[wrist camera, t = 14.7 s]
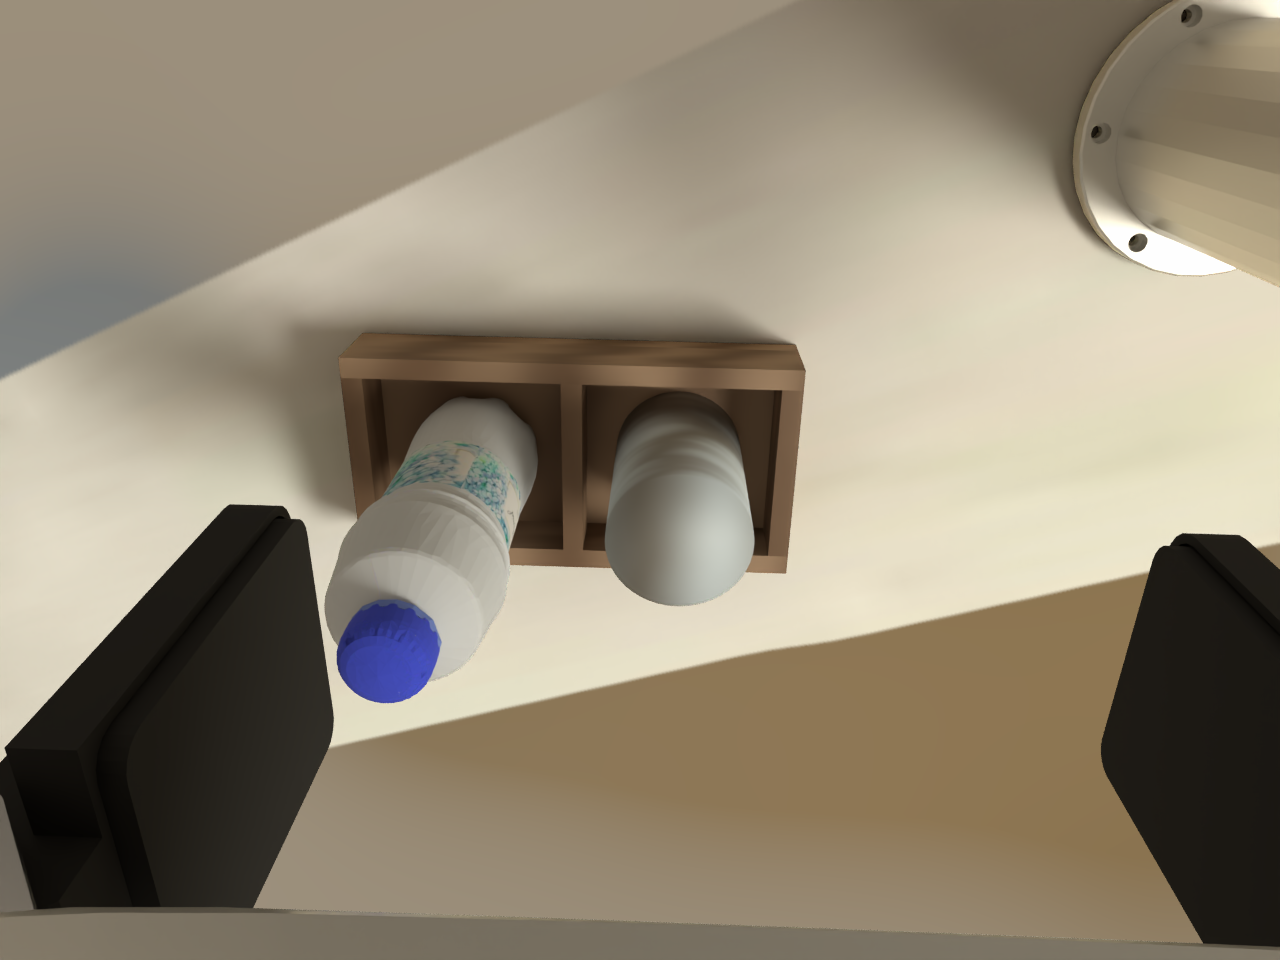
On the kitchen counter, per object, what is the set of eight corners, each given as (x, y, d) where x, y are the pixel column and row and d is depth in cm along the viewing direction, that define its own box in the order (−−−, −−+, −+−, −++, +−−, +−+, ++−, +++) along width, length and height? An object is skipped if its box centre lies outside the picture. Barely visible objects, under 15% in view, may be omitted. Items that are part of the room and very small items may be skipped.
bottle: (519, 517, 52) (438, 778, 34) (401, 469, 51) (255, 711, 33) (567, 413, 50) (507, 636, 32) (444, 359, 49) (310, 559, 31)
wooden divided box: (795, 344, 49) (827, 427, 39) (778, 536, 54) (802, 653, 44) (362, 333, 49) (284, 412, 39) (383, 524, 54) (318, 637, 44)
